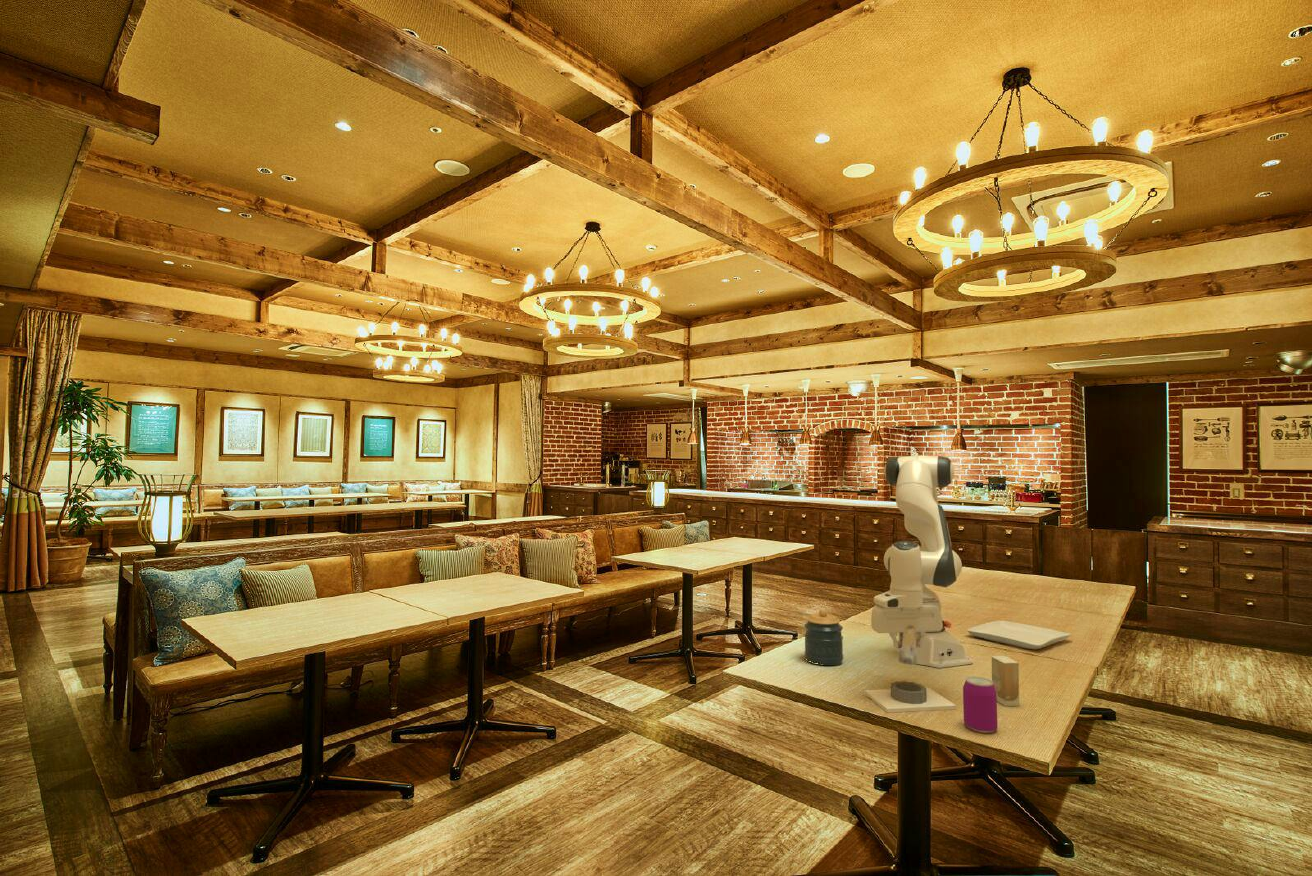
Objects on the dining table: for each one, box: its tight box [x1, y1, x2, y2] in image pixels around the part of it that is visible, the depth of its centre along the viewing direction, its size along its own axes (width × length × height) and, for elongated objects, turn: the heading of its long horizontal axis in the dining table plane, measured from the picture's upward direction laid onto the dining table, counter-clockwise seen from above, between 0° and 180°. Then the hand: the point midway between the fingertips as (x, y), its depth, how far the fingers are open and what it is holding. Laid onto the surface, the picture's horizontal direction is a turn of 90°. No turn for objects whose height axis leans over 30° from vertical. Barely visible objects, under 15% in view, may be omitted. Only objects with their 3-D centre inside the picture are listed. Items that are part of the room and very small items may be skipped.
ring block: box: [863, 680, 957, 714], centre depth 174 cm, size 20×14×4 cm
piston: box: [897, 626, 917, 665], centre depth 175 cm, size 5×5×11 cm
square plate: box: [966, 620, 1072, 650], centre depth 236 cm, size 27×27×4 cm
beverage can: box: [962, 675, 998, 734], centre depth 157 cm, size 8×8×12 cm
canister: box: [803, 608, 844, 666], centre depth 211 cm, size 13×13×18 cm
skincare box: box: [991, 655, 1020, 707], centre depth 174 cm, size 6×4×12 cm
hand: (907, 647), depth 175 cm, fingers closed on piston, 5 cm apart
